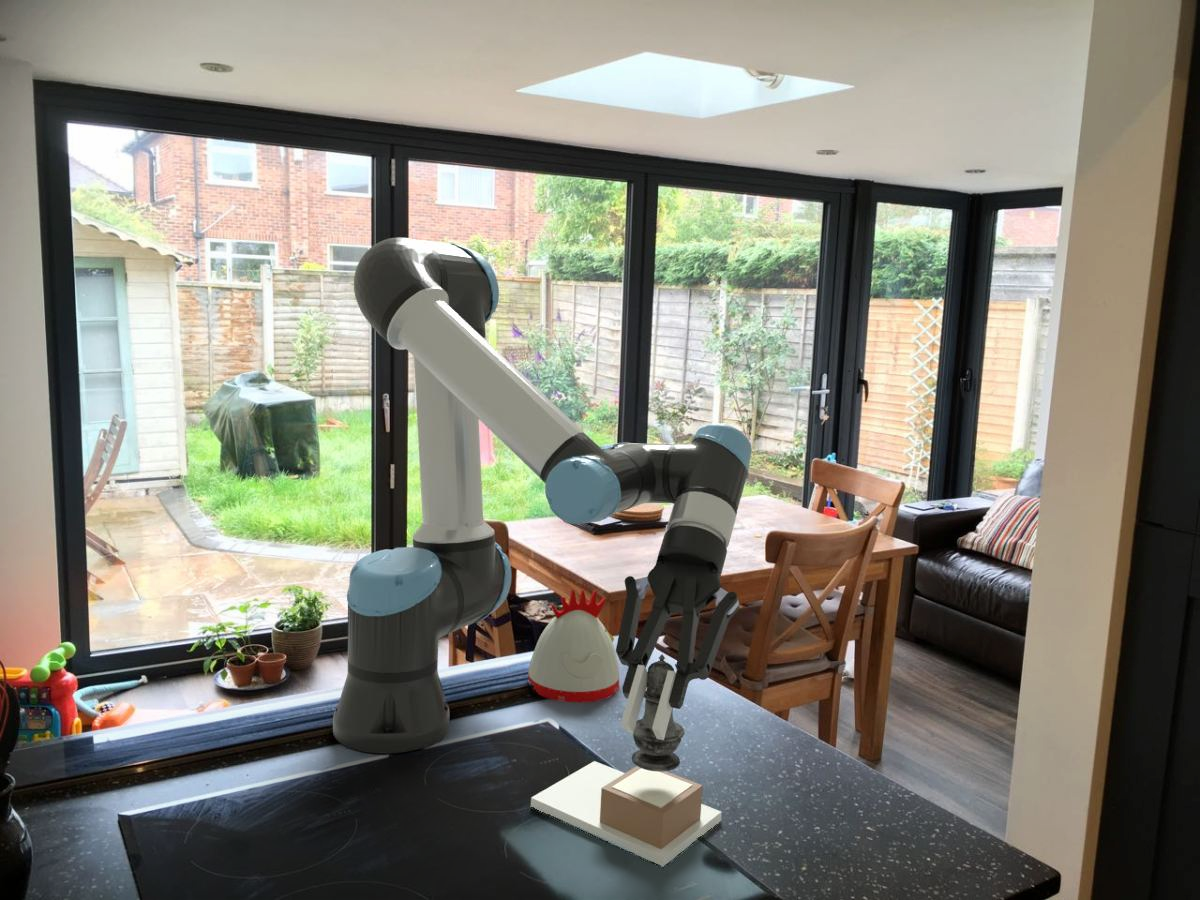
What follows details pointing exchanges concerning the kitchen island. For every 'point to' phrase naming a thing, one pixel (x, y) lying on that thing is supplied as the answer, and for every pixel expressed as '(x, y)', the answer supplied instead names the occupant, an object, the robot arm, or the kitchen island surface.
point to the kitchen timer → (575, 654)
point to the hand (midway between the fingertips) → (642, 730)
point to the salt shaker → (652, 749)
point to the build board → (587, 811)
